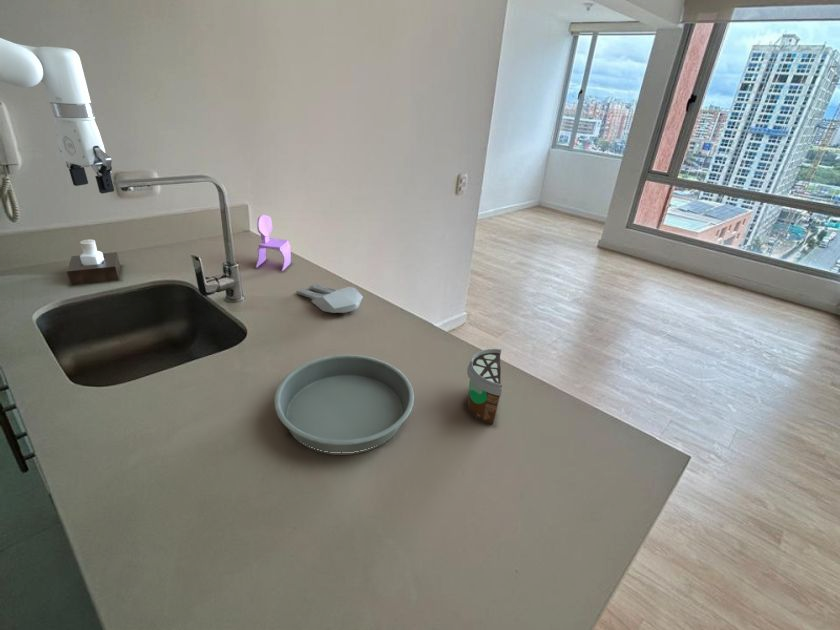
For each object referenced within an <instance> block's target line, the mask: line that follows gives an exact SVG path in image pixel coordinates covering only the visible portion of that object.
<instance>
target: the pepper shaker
mask: <svg viewBox="0 0 840 630" xmlns="http://www.w3.org/2000/svg"><path fill="white" fill-rule="evenodd" d="M79 245H80V248H81V250H82V253H81V254H80V255H79V256H80V259H81V262H82V265H83V266H86V265H96V264H104V257H103V254H102V253H103V252H102V251H100V250H98V249H97V244H96V240H94V239H83V240H81V241H79Z"/></svg>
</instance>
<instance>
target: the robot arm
mask: <svg viewBox="0 0 840 630" xmlns="http://www.w3.org/2000/svg"><path fill="white" fill-rule="evenodd" d="M0 82H4V83H6V84H8V85H11V86H15V87H20V88H32V87H35V86H37V85H39V83H43V86H44V89H45V92H46V95H47V98H48V102H49V105H50V109H51V112H52V116H53V123H54V124H53V126H54V132H55V136H56V141H57V145H58V149H59V153H60V156H61V159H62V160H63V161H64V162H65V163H66V164H65V165H66V168H67V169H68V172H69V174H70V179H71V182H72V185H73V186H75V187H79V186H84V185H88V184H89V180H88V177H87V173H86V169H85V168H89V167H91V169H92V170H93V171H94V173H95V174H96V175H95V176H94V178H95V181H96V184H97V188H98V191H99V193H100V194H101V195H103V194H108V193H113V192H115V187H114V183H113V179H112V174H113V173H112V170H113V167H112V164H113V163H112V162H113V159H112V157H110V155H108V154H107V153H106V149H105V145H104V142H103V140H102V136H101V132H100V131H99V128H98V125H97V123H96V116H95V113H94V109H93V105H92V101H91V97H90V93H89V89H88V85H87V80H86V77H85V73H84V69H83V65H82V60H81V58H80V55H79V53H78V52H76V50H74V49H71V48H68V47H61V46H59V47H57V46H38V47H37V46H31V45H24V44H19V43H15V42H13V41H9V40H7V39H5V38H2V37H0ZM99 167H100V168H99Z"/></svg>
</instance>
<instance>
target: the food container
mask: <svg viewBox="0 0 840 630" xmlns="http://www.w3.org/2000/svg"><path fill="white" fill-rule="evenodd" d="M501 355H502V349H501V348H488V349H484V350H480V351H478V352H477V353H475V354H474V355H473V357H472V358H471V360H470V361H469V363H468V366H467V368H466V373H467V376H468V379H469V384H468V395H467V408H468V409H467V410H469V412H470V413H471V414H472V416H473V417H475V418H476V419H477V420H479V421H481V422H483V423H486V424H490V425H494V421H495V417H496V414H497V410H498V405H499V402H500V398H501V396H502V390H503V384H502V382H501V380H502V379H501V377H502V375H501V372H502V371H501Z"/></svg>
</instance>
